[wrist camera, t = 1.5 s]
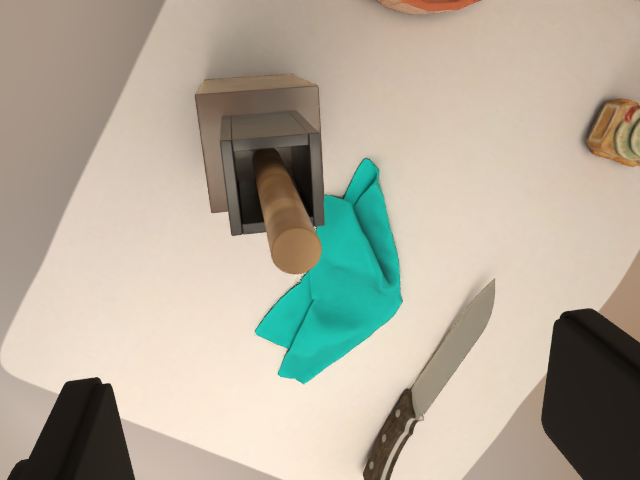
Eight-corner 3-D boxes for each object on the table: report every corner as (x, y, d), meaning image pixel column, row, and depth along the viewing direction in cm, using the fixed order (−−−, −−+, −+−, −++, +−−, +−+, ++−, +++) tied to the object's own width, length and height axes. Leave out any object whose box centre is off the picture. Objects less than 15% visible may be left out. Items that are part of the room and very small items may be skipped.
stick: (251, 169, 35) (274, 285, 18) (248, 134, 34) (268, 221, 17) (278, 167, 35) (323, 279, 18) (275, 132, 34) (320, 216, 18)
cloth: (340, 397, 60) (344, 409, 58) (234, 359, 56) (234, 371, 54) (459, 207, 54) (469, 214, 52) (350, 148, 50) (355, 153, 48)
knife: (382, 503, 61) (526, 307, 51) (363, 499, 60) (506, 299, 50) (371, 463, 66) (500, 278, 56) (354, 459, 66) (482, 270, 55)
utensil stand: (215, 168, 48) (206, 265, 27) (203, 79, 45) (183, 111, 24) (299, 160, 49) (353, 248, 28) (293, 73, 46) (348, 99, 25)
